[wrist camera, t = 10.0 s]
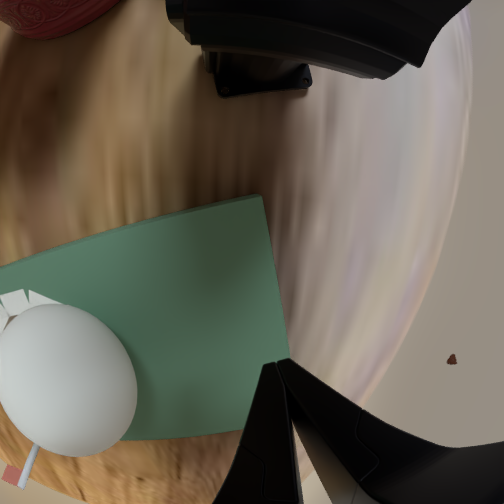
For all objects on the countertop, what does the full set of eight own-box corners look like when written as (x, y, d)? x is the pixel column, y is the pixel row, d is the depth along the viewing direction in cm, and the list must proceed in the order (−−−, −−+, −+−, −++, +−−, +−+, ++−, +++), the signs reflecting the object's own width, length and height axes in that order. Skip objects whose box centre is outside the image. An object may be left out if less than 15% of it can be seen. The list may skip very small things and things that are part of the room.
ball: (154, 309, 13) (-32, 290, 7) (169, 478, 11) (3, 480, 5) (118, 308, 21) (7, 297, 15) (126, 420, 19) (19, 418, 13)
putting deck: (256, 193, 18) (327, 232, 7) (294, 401, 25) (331, 501, 13) (-39, 283, 16) (-105, 333, 5) (41, 422, 22) (14, 489, 11)
